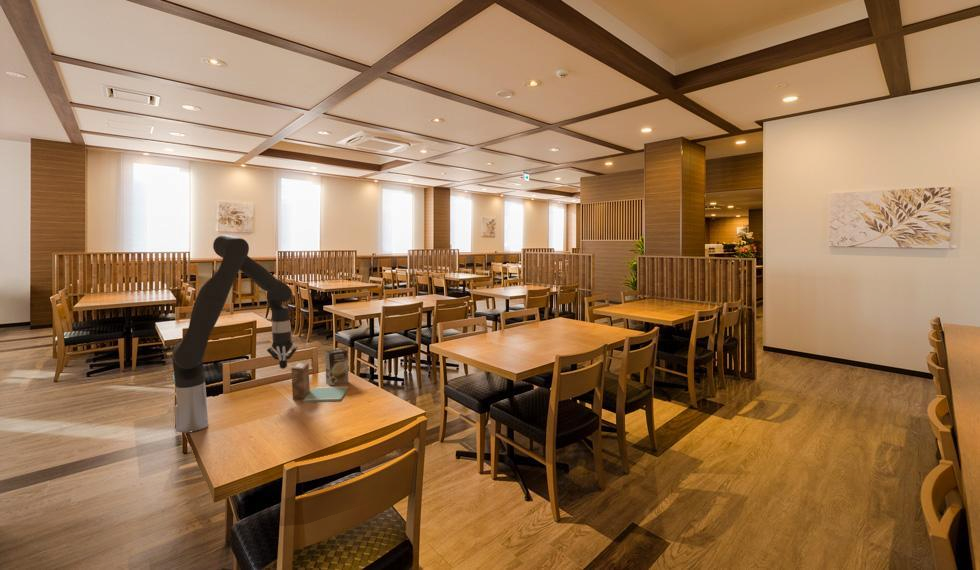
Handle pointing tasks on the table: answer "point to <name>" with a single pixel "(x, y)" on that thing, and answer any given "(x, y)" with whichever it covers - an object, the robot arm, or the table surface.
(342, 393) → the mat
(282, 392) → the table surface
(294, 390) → the walnut block
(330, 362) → the coffee box
